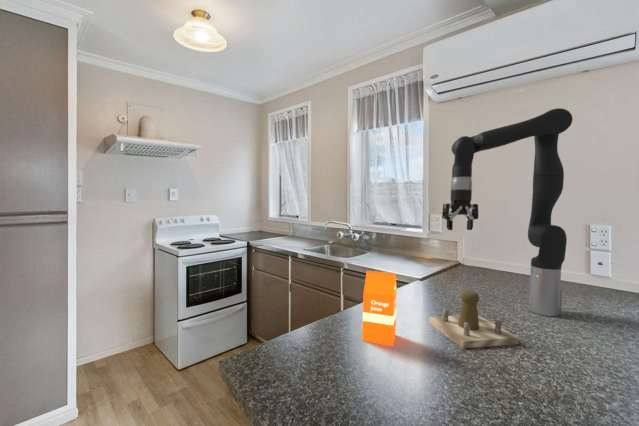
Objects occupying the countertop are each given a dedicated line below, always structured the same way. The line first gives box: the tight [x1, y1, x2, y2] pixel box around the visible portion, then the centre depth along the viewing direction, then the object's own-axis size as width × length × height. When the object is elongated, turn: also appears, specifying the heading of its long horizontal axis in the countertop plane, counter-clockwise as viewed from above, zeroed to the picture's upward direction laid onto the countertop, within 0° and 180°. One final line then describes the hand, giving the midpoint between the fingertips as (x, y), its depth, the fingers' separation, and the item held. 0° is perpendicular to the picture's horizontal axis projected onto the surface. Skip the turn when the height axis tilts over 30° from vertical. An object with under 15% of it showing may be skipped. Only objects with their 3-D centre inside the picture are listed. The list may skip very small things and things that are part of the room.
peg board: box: [428, 308, 520, 350], centre depth 96 cm, size 18×18×6 cm
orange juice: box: [362, 270, 398, 347], centre depth 91 cm, size 8×9×20 cm
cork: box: [458, 290, 480, 330], centre depth 96 cm, size 6×6×11 cm
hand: (459, 229), depth 121 cm, fingers open, 8 cm apart
